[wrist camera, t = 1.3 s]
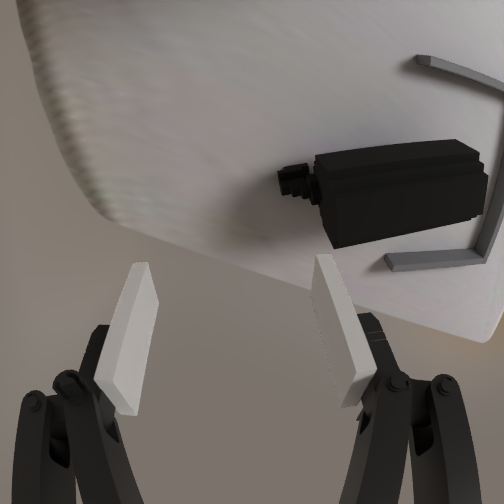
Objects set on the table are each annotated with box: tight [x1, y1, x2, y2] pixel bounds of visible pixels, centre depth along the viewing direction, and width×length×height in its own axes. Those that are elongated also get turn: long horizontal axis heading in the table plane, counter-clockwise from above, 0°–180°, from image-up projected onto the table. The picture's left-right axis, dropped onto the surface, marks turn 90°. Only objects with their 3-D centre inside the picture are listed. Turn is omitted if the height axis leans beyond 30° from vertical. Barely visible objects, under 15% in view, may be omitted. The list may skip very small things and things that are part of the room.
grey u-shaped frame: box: [385, 55, 504, 272], centre depth 29 cm, size 25×17×2 cm
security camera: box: [277, 139, 488, 249], centre depth 25 cm, size 7×18×10 cm, turn 102°
